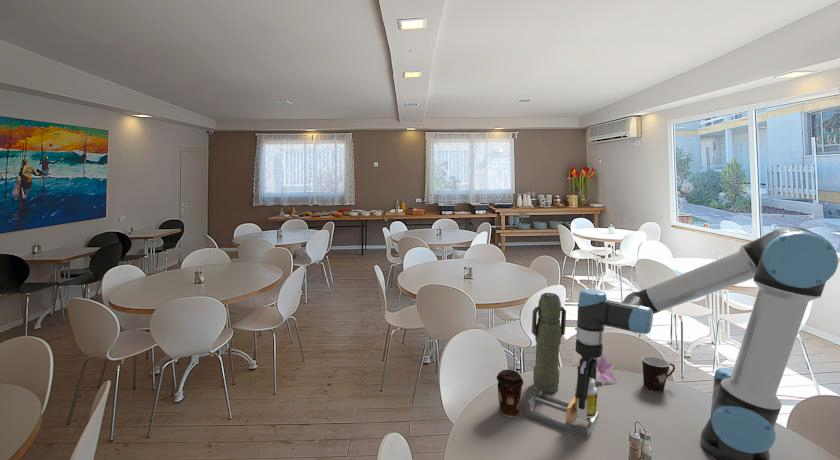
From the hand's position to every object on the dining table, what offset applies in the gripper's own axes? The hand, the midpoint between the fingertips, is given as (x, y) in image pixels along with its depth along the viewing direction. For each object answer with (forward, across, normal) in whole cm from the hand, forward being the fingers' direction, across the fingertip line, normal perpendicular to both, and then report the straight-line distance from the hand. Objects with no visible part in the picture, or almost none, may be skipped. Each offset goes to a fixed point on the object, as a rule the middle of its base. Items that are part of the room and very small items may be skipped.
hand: (584, 412), depth 120 cm
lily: (+4, -33, -2) cm, 33 cm away
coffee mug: (+4, -40, +16) cm, 43 cm away
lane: (+4, 0, -7) cm, 8 cm away
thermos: (+4, -15, -17) cm, 23 cm away
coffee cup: (+4, +8, -21) cm, 23 cm away
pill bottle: (+1, 0, 0) cm, 1 cm away
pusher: (+4, 0, -10) cm, 10 cm away
